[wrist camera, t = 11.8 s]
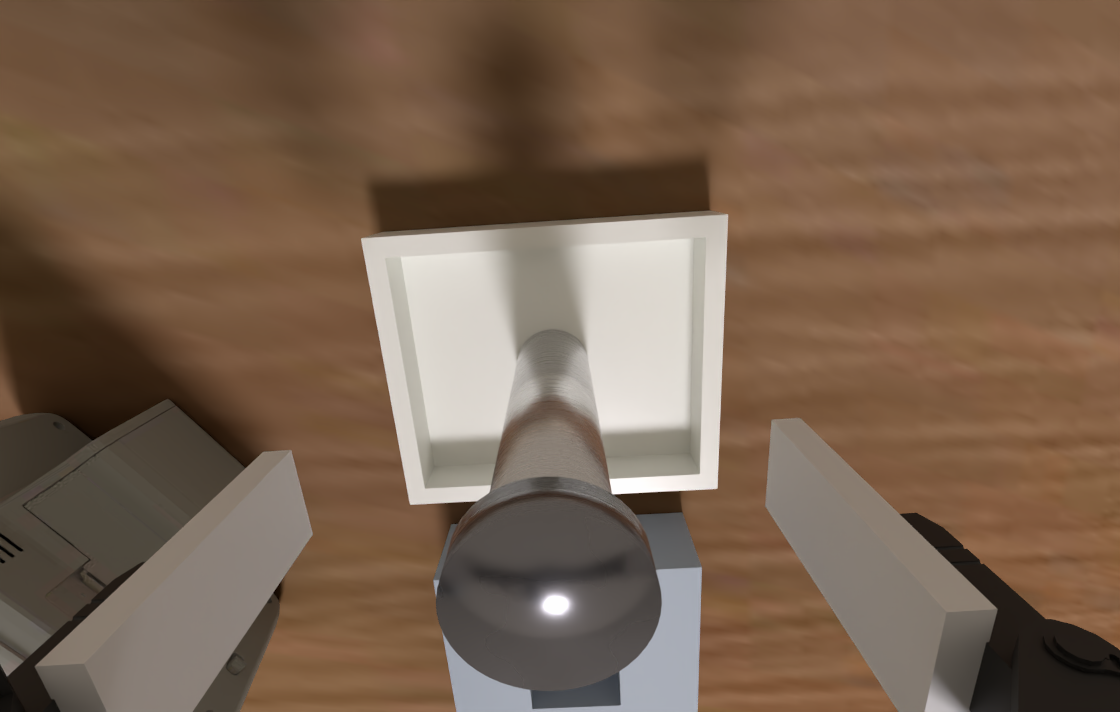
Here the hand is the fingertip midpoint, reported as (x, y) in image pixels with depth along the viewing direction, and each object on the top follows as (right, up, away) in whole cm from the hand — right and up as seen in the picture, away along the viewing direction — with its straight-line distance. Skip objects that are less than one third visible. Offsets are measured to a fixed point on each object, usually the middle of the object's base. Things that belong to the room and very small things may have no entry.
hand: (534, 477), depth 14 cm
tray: (0, +3, +10) cm, 10 cm away
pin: (0, +3, +9) cm, 10 cm away
